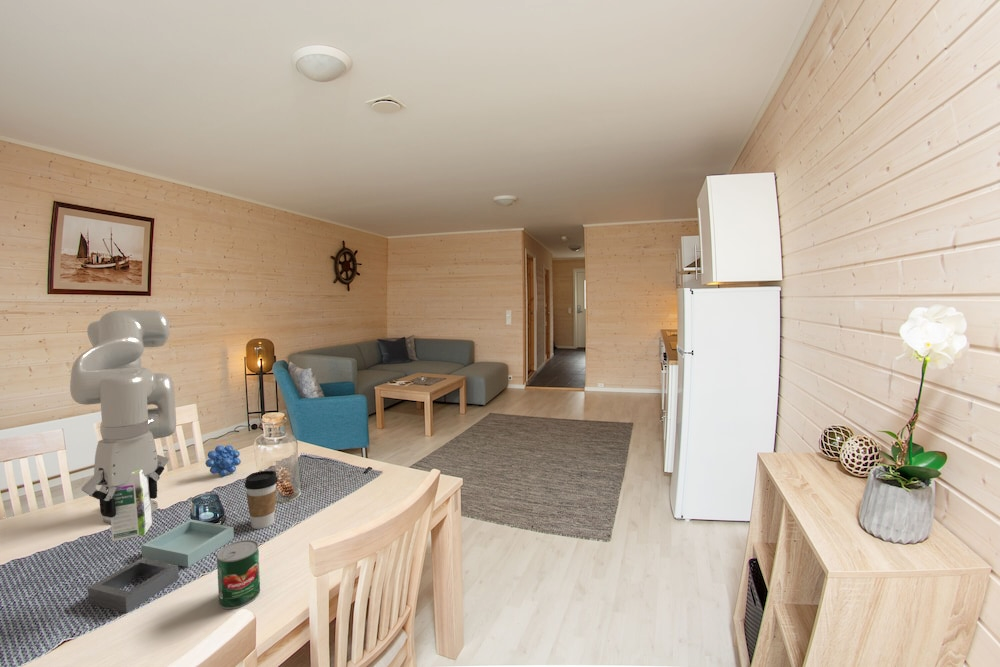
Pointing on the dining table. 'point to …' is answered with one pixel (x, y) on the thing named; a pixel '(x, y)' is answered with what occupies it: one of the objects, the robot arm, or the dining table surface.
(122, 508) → the syrup box
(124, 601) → the collar
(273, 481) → the coffee cup
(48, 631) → the dining table surface
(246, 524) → the dining table surface
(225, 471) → the grapes
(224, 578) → the canned tomato
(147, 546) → the tray
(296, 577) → the dining table surface
